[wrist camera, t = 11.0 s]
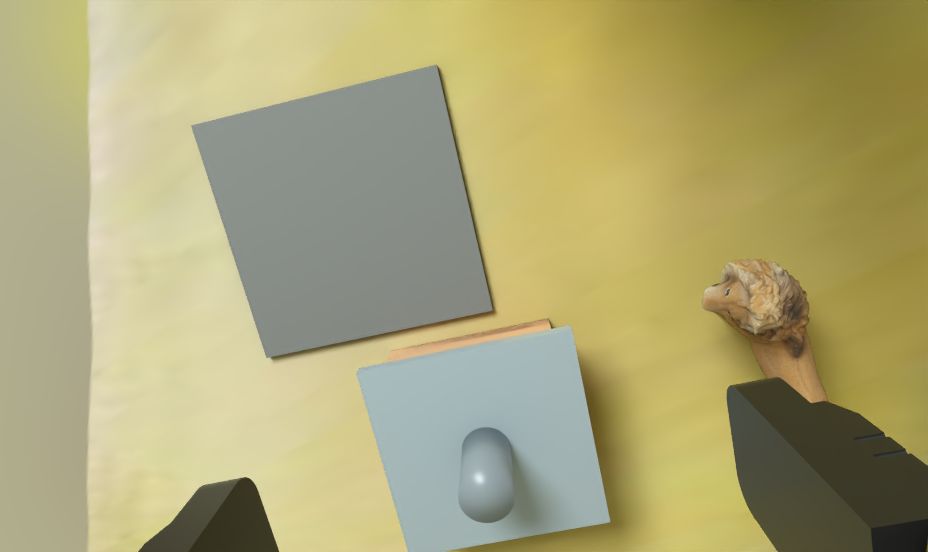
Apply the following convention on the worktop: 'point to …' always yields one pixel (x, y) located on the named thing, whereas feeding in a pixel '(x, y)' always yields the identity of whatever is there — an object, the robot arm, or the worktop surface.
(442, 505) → the lid
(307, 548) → the worktop surface
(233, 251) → the mat
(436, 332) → the worktop surface
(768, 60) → the worktop surface
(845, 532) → the robot arm
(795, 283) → the lion figurine
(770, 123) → the worktop surface
